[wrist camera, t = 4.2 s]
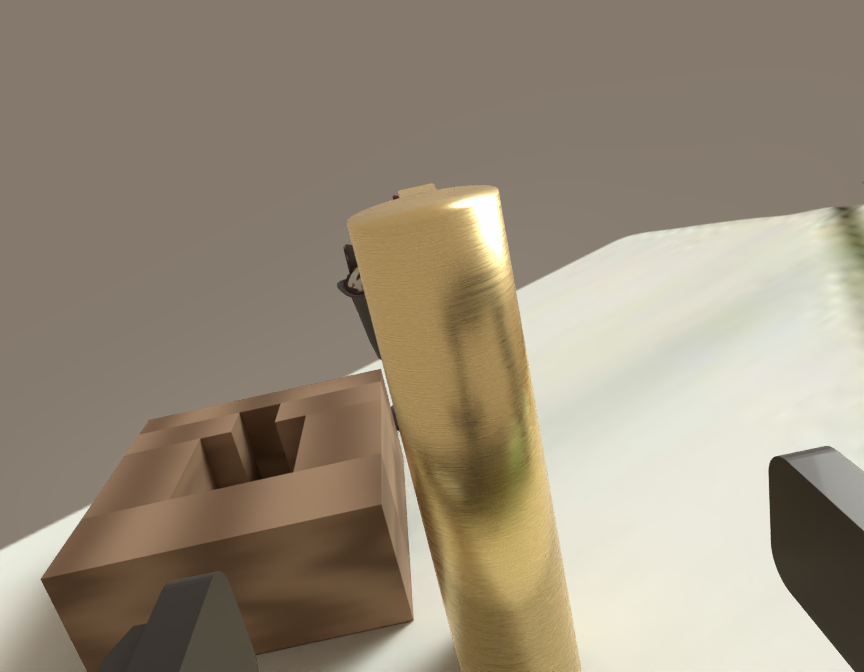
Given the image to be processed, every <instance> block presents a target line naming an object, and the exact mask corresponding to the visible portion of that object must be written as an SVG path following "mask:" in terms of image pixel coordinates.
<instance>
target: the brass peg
mask: <svg viewBox="0 0 864 672" xmlns="http://www.w3.org/2000/svg"><path fill="white" fill-rule="evenodd" d="M398 192H399V198H398V199H395V200H391V201H388V202H385V203H382V204H379V205H376V206H373V207H370V208H368V209H366V210H363V211H361V212H359V213H357V214H355V215H354V216H352V217H350V218H349V219H348V221H347V226H348V229H349V233H350V237H351V241H352V245H353V249H354V253H355V257H356V261H357V265H358V269H359V273H360V277H361V281H362V285H363V289H364V292H365V296H366V300H367V304H368V308H369V312H370V316H371V320H372V324H373V328H374V332H375V336H376V340H377V344H378V348H379V351H380V355H381V359H382V363H383V367H384V371H385V375H386V379H387V383H388V387H389V391H390V395H391V399H392V403H393V407H394V410H395V414H396V418H397V422H398V426H399V430H400V434H401V438H402V442H403V446H404V450H405V454H406V458H407V462H408V466H409V469H410V473H411V477H412V481H413V485H414V489H415V493H416V497H417V501H418V505H419V509H420V513H421V517H422V521H423V525H424V528H425V532H426V536H427V540H428V544H429V548H430V552H431V556H432V560H433V564H434V568H435V572H436V576H437V580H438V584H439V587H440V591H441V595H442V599H443V603H444V607H445V611H446V615H447V619H448V623H449V627H450V631H451V635H452V639H453V643H454V646H455V650H456V654H457V658H458V662H459V666H460V670H461V672H581V665H580V660H579V654H578V648H577V642H576V637H575V631H574V625H573V619H572V613H571V608H570V602H569V596H568V590H567V584H566V579H565V573H564V567H563V561H562V555H561V550H560V544H559V538H558V532H557V527H556V521H555V515H554V509H553V503H552V498H551V492H550V486H549V480H548V474H547V469H546V463H545V457H544V451H543V445H542V440H541V434H540V428H539V422H538V416H537V411H536V405H535V399H534V393H533V388H532V382H531V376H530V370H529V364H528V359H527V353H526V347H525V341H524V335H523V330H522V324H521V318H520V312H519V306H518V301H517V295H516V289H515V283H514V278H513V272H512V266H511V260H510V254H509V249H508V243H507V238H506V231H505V226H504V220H503V214H502V208H501V202H500V196H499V191H498V189H497V188H496V187H493V186H484V185H474V186H462V187H461V186H460V187H453V188H445V189H439V190H437V189H436V187H435V185H434V184H433V183H431V184H427V185H423V186H418V187H413V188H409V189H404V190H400V191H398Z"/></svg>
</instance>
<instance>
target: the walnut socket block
mask: <svg viewBox="0 0 864 672" xmlns="http://www.w3.org/2000/svg"><path fill="white" fill-rule="evenodd" d="M217 571H221V572H223V573H224V574H225V575H226V577H227V579H228V581H229V583H230V585H231V588H232V591H233V594H234V596H235V599H236V602H237V605H238V607H239V610H240V613H241V616H242V618H243V621H244V624H245V627H246V629H247V632H248V635H249V638H250V640H251V643H252V646H253V649H254V652H255V655H256V654H261V653H265V652H270V651H274V650H279V649H283V648H288V647H293V646H297V645H302V644H306V643H311V642H315V641H320V640H325V639H329V638H334V637H338V636H343V635H347V634H352V633H357V632H361V631H366V630H370V629H375V628H379V627H384V626H389V625H393V624H398V623H402V622H407V621H411V620H413V606H412V590H411V574H410V558H409V542H408V526H407V510H406V494H405V478H404V462H403V454H402V450H401V446H400V442H399V438H398V434H397V430H396V426H395V422H394V418H393V415H392V411H391V407H390V403H389V399H388V395H387V391H386V387H385V383H384V379H383V375H382V372H381V369H378V370H374V371H369V372H365V373H360V374H356V375H351V376H347V377H342V378H338V379H333V380H329V381H325V382H320V383H315V384H311V385H306V386H302V387H297V388H293V389H288V390H284V391H279V392H274V393H270V394H266V395H261V396H256V397H252V398H248V399H243V400H238V401H234V402H230V403H225V404H220V405H215V406H211V407H207V408H202V409H197V410H193V411H188V412H184V413H179V414H175V415H171V416H166V417H161V418H157V419H152V420H149V421H148V423H147V424H146V426H145V427H144V429H143V430H142V432H141V433H140V435H139V436H138V437H137V439H136V440H135V442H134V443H133V445H132V446H131V448H130V449H129V451H128V452H127V453H126V455H125V456H124V458H123V460H122V461H121V462H120V464H119V465H118V467H117V468H116V470H115V471H114V473H113V474H112V475H111V477H110V479H109V480H108V481H107V483H106V484H105V486H104V487H103V489H102V490H101V492H100V493H99V495H98V496H97V497H96V499H95V501H94V502H93V503H92V505H91V506H90V508H89V509H88V511H87V512H86V514H85V515H84V516H83V518H82V519H81V521H80V522H79V524H78V525H77V527H76V528H75V530H74V531H73V533H72V534H71V536H70V537H69V538H68V540H67V541H66V543H65V544H64V546H63V547H62V549H61V550H60V552H59V553H58V555H57V556H56V557H55V559H54V560H53V562H52V563H51V565H50V566H49V568H48V569H47V571H46V572H45V574H44V575H43V577H42V578H41V581H42V583H43V585H44V587H45V589H46V591H47V593H48V595H49V597H50V599H51V601H52V603H53V605H54V607H55V609H56V611H57V613H58V615H59V616H60V618H61V620H62V622H63V624H64V626H65V628H66V630H67V632H68V634H69V636H70V638H71V640H72V642H73V644H74V646H75V648H76V650H77V652H78V654H79V656H80V658H81V660H82V662H83V664H84V666H85V668H86V670H87V672H98V670H99V668H100V666H101V664H102V662H103V659H104V658H105V656H106V655H107V654H108V653H109V652H110V651H111V650H112V649H113V648H114V647H115V645H116V644H117V643H118V642H119V641H120V640H121V639H122V638H123V637H124V635H125V634H126V633H127V632H128V631H129V630H130V629H131V628H132V627H133V626H136V625H141V624H146V623H147V622H148V620H149V618H150V616H151V613H152V611H153V609H154V606H155V604H156V602H157V600H158V597H159V595H160V593H161V591H162V589H163V587H164V585H165V584H166V583H167V582H169V581H173V580H178V579H183V578H188V577H193V576H197V575H202V574H207V573H212V572H217Z"/></svg>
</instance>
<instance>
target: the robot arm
mask: <svg viewBox="0 0 864 672" xmlns="http://www.w3.org/2000/svg"><path fill="white" fill-rule="evenodd" d="M769 499H770V528H771V548H772V554H773V558H774V561H775V565H776V567H777V570H778V572H779V575H780V577H781V579H782V581H783V583H784V584H785V586H786V587H787V589H788V590H789V592H790V593H791V594H792V595H793V597H794V598H795V599H796V600H797V601H798V603H799V604H800V605H801V606H802V608H803V609H804V610H805V611H806V612H807V614H808V615H809V616H810V617H811V619H812V620H813V621H814V622H815V624H816V625H817V626H818V627H819V628H820V630H821V631H822V632H823V633H824V635H825V636H826V637H827V638H828V639H829V641H830V642H831V643H832V644H833V646H834V647H835V648H836V649H837V650H838V652H839V653H840V654H841V655H842V657H843V658H844V659H845V660H846V662H847V663H848V664H849V665H850V666H851V668H852V669H853V670H854V671H855V672H864V471H862V470H861V469H860V468H859V467H857V466H856V465H855V464H853V463H852V462H851V461H850V460H848V459H847V458H846V457H845V456H843V455H842V454H841V453H840V452H838V451H837V450H835V449H834V448H832V447H829V446H824V447H819V448H814V449H809V450H805V451H800V452H795V453H790V454H785V455H781V456H776V457H774V458H772V460H771V461H770V464H769ZM98 672H258V665H257V660H256V655H255V652H254V649H253V646H252V643H251V640H250V638H249V635H248V632H247V629H246V627H245V624H244V621H243V618H242V616H241V613H240V610H239V607H238V605H237V602H236V599H235V596H234V594H233V591H232V588H231V585H230V583H229V581H228V579H227V577H226V575H225V574H224V573H223V572H221V571H217V572H212V573H207V574H202V575H197V576H193V577H188V578H183V579H178V580H173V581H169V582H167V583H166V584H165V585H164V587H163V589H162V591H161V593H160V595H159V597H158V600H157V602H156V604H155V606H154V609H153V611H152V613H151V616H150V618H149V620H148V622H147V623H146V624H141V625H136V626H133V627H132V628H131V629H130V630H129V631H128V632H127V633H126V634H125V635H124V637H123V638H122V639H121V640H120V641H119V642H118V643H117V644H116V645H115V647H114V648H113V649H112V650H111V651H110V652H109V653H108V654H107V655H106V656H105V658H104V659H103V662H102V664H101V666H100V668H99V670H98Z"/></svg>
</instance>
